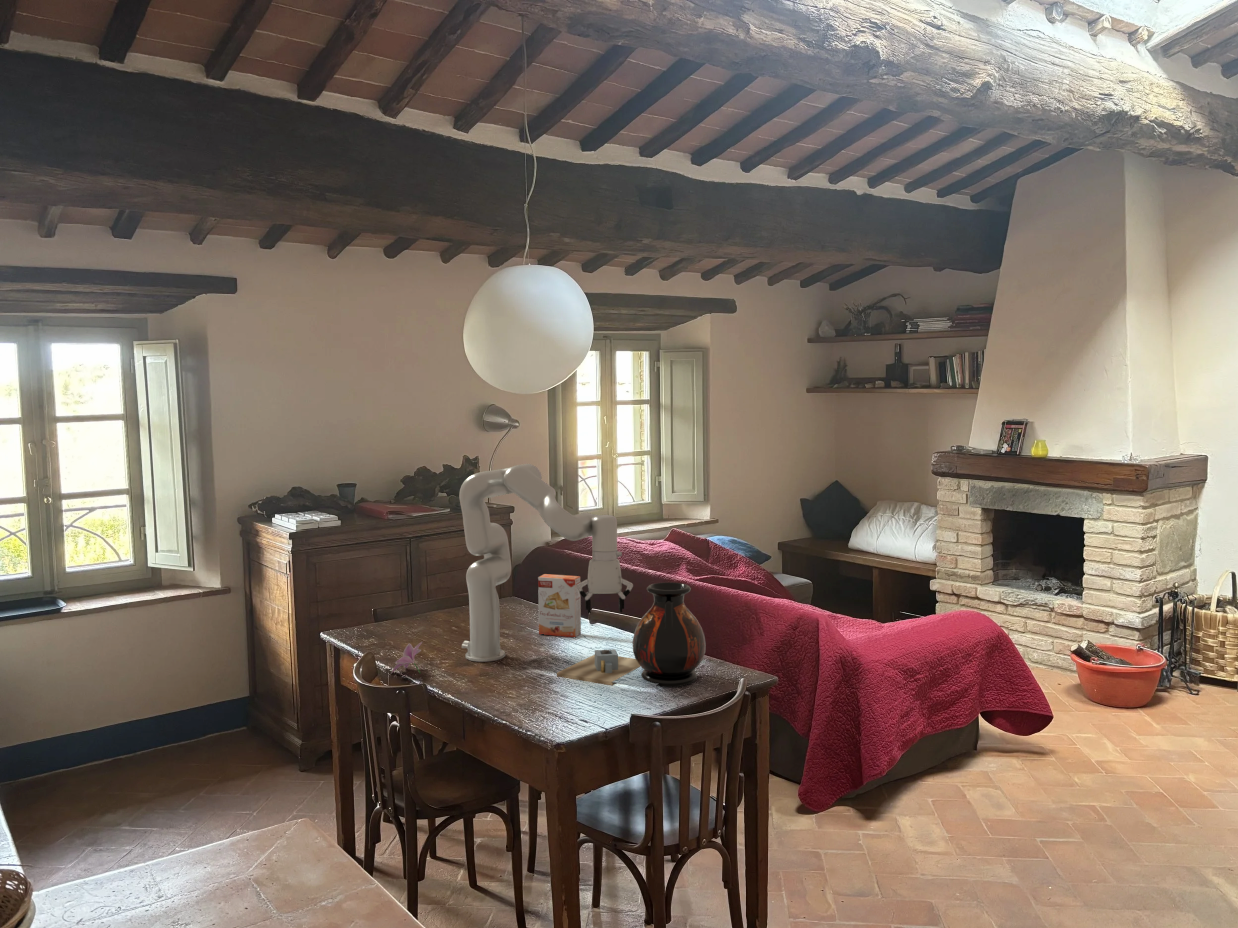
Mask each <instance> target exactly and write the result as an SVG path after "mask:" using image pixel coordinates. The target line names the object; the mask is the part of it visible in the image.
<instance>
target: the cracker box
mask: <svg viewBox="0 0 1238 928" xmlns="http://www.w3.org/2000/svg"><path fill="white" fill-rule="evenodd" d="M537 579H538V580H537V582H538V583H537V584H538V593H537V595H538V598H537V599H538V635H541V634H544V635H545V636H555V637H563V638H564V637H566V638H574V637H575V638H576V637H578V636H579V635H581V633H582V627H581V626H582V624H581V623H582V621H581V619H582V617H581V616H582V614H581V613H582V612H581V609H582V607H581V605H582V603H581V602H582V601H581V600H582V599H581V597H582V596H581V595H580V593H579V591H578V589H577V587H576V585H577V584H579V583H581V576H579V575H578V576H577V575H565V574H553V573H552V574H547V573H544V574H542V575H540V576H538V577H537Z"/></svg>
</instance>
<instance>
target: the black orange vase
mask: <svg viewBox="0 0 1238 928" xmlns="http://www.w3.org/2000/svg"><path fill="white" fill-rule="evenodd" d="M691 589H692V588H691V587H690V585H688V584H686V583H679V582H656V583H652V584H649V585H648V586H647V587H646V590H647V592H648V593H649V594H652V596H653V603H652V605H651V607H650V608H649V609H648V611H646V613H645V614H643V615H642V617H641V619H640V620H639V621H638V623H637V625H636V627H635V630H634V633H633V637H632V653H633V656H634V659H636V661H637V662H638V664H639V665H640V668H642V669H643V670H642V672H641V673H640V676H641V679H643V680H644V681H646V682H649V683H652V684H655V685H656V687H661V688H663V687H664V688H676V686H678V687H683V685H684V686H688V685H690V684H693V683H694V682H695V681H696V680H697V678H698V674H697V672H696V671H695V670H696V669H697V668H698V667H699V666H700V665H701V663H702V661H703V660H704V657H705V654H706V646H707V645H706V644H707V643H706V637H705V632H704V630H703V628H702V626H701V623H700V621H699V620H698V619H697V617H696V616H695V615H694V614H693V613H692V611H690V609H689V608H688V607H687V606H686V604H685V601H684V600H685V595H686V594H689V593H690V592H691ZM687 684H688V685H687Z"/></svg>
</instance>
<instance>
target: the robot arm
mask: <svg viewBox="0 0 1238 928" xmlns="http://www.w3.org/2000/svg"><path fill="white" fill-rule="evenodd" d="M542 476H543V475H542V472H541V470H540V469H539V468H538V466H535V465H534V464H532V463H524V464H523V463H522V464H517V465H513V466H511V467H506V468H501V469H493V470H485V471H481V472H476V473H474V474H471V475H470V476H468V477H467V478H466V479H465V480H464V481H463V482H462V484H461V486H460V489H459V502H460V503H459V504H460V508H461V514H462V522H463V530H464V538H465V545H466V548H467V551H468V552H469V553H470V554H471V555H472V556H476V557H477V556H478V557H480V556H483V559H478V560H477V561H474V562H473V563H472V564H470V565H469V567H468V569H467V570H466V574H465V579H466V580H465V581H466V585H467V586H466V587H467V591H468V600H469V601H468V603H469V604H468V605H469V606H468V607H469V608H468V609H469V610H468V611H469V640H464V641H463V642H462V644H461V648H462V649H467V652H465V659H467V660H468V661H471V662H477V663H478V662H479V663H484V662H485V663H486V662H487V663H488V662H494V661H498V660H502V659H503V658H504V657H506V652H505V651H504V650H503V649H501V632H500V631H501V628H500V627H501V626H500V625H501V624H500V620H501V619H500V599H499V594H498V591H497V587H496V586H498V585H502V584H503V583H505V582H507V581H508V580H509V579H510V576H511V575H512V561H511V553H510V546H509V545H510V544H509V539H508V535H507V531H506V530H505V528H504V527H502V525H500V524H499V523H496V522H491V519H490V510H489V507H488V506H487V503H486V501H485V500H486V499H488V498H489V499H490V498H494V497H499V496H504V495H505V496H506V495H511V494H514V495H516V496H517V497H518V498H520V499H521V500H522V501H523V502H525V503H527V504H528V505H529V506H530V507H532V508H533V509H535V510H536V511H537V512H538V514H539V515H540V517H541V518H542V520H543V522H544V523H545V524H546V525H547V526H548V527H549V528H550V529H551V530H553V532H555V533H557V534H558V535H559V536H561V537H563V538H564V539H566V540H568V541H571V542H573V541H574V542H575V541H576V542H577V541H579V540H582V539H587V538H589V537H592V538H591V544H592V548H591V550H592V553H591V554H592V555H591V556H592V557H591V558H592V559H590V560H589V562H588V569H587V570H588V571H587V579H585V580H583V581H580V583H579V584H577V585H576V587H577V589H578V591H579V593H580V595H581V597H582V598H583V599H584V601H585V611H587V614H590V613H591V610H592V609H591V607H592V604H591V601H592V600H591V597H593V595H595V594H597V595H598V594H599V595H601V594H604V595H605V594H618V596H619V598H618V611H619V613H622V612H623V610H624V609H625V599H626V598H627V597H628V596H629V594H630V593H631V591H632V589H633V587H634V584H633V583H632V582H630V581H628V580H627V579H624V578H623V577H622V571H621V570H622V569H621V563H620V560H619V559H618V558H620V557H622V556H623V553H622V551H618V519H617V517H616V516H614V515H611V514H594V513H591V512H581V513H578V514H577V513H576V514H572V513H570V512H569V511H567V510H566V509H564V508H563V507H562V506H561V505H560V504H559V502H558V501H557V498H556V495H557V493H556V489H555V488H554V487H553V486H551V485H549V484H548V483H547V482H546V481H544V480H542V478H543V477H542ZM622 584H623V585H624V586H626V589H625V590H624V591H622V588H623V585H622ZM586 585H587V590H588V591H587V592H585V591H584V590H583V587H586Z"/></svg>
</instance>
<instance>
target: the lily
mask: <svg viewBox="0 0 1238 928" xmlns="http://www.w3.org/2000/svg"><path fill="white" fill-rule="evenodd" d="M422 643H423V641H421V642H419V643H417V644H416V646H415V647H413V645H412V644H411V643H407V645H406V646H405V648H404V650H403V653H402V657H401V656H400V658H398V659H397V660H396V661H395V662H394V663H395V666H394V667H393V669H392V670H391V672H390V674H393V673H394V672H395V671H397V670H398V669H399V668H400V667H402V666H403V667H404V668H405V669H407V668H408V667H409V665H410V664H414V666H415V667H416V669H417V671H418V674H421V671H420V669H419V667H418V666H417V664H416V663H415V656H416V655H417V654H419V653H420V652H421V651H422V650H421V649H420V648H419V647H420V646H421V645H422Z"/></svg>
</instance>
